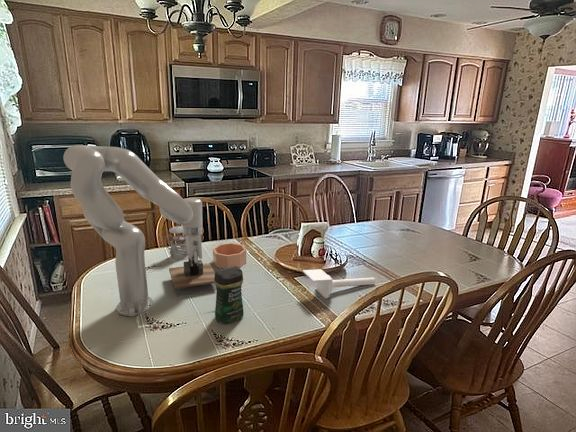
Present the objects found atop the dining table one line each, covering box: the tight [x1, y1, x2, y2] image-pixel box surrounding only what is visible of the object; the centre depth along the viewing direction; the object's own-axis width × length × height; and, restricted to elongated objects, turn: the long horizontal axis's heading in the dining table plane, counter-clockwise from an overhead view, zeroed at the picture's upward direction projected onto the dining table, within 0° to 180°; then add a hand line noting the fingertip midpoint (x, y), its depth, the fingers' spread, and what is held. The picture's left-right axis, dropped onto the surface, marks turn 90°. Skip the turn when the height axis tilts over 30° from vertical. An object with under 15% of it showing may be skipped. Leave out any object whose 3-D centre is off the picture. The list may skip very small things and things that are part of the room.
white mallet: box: [302, 268, 377, 299], centre depth 154 cm, size 9×9×32 cm
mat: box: [170, 277, 217, 298], centre depth 157 cm, size 18×18×1 cm
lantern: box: [163, 223, 188, 262], centre depth 178 cm, size 10×12×25 cm
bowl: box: [212, 242, 247, 269], centre depth 176 cm, size 14×14×7 cm
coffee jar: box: [214, 266, 245, 325], centre depth 132 cm, size 10×8×19 cm
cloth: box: [168, 259, 216, 289], centre depth 155 cm, size 17×17×6 cm
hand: (193, 272), depth 155 cm, fingers closed on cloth, 3 cm apart
